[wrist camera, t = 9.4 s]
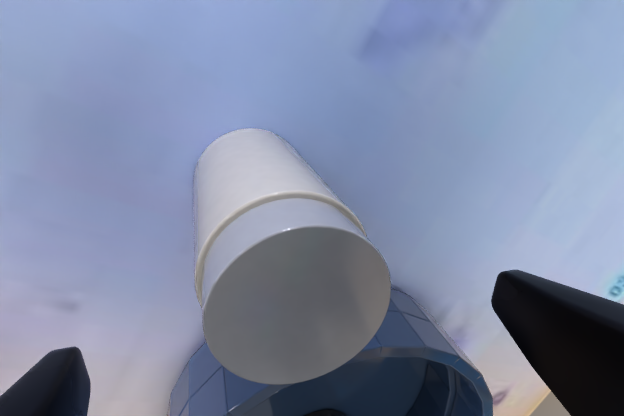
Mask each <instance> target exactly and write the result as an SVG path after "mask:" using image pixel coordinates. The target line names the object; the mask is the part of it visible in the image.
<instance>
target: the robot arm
mask: <svg viewBox="0 0 624 416" xmlns="http://www.w3.org/2000/svg"><path fill="white" fill-rule="evenodd" d="M491 303H492V307H493V309H494V311H495V313H496V314H497V316H498V317H499V319H500V320H501V322H502V323H503V325H504V326H505V328H506V329H507V331H508V332H509V333H510V335H511V336H512V338H513V339H514V341H515V342H516V344H517V345H518V347H519V348H520V350H521V351H522V353H523V354H524V356H525V357H526V359H527V360H528V362H529V363H530V364H531V366H532V367H533V368H534V370H535V371H536V372H537V374H538V375H539V376H540V377H541V379H542V380H543V381H544V382H545V384H546V385H547V386H548V387H549V389H550V390H551V391H552V392H553V394H554V395H555V396H556V397H557V399H558V400H559V401H560V402H561V403H562V405H563V406H564V407H565V409H566V410H567V411H568V412H569V413H570V415H571V416H624V305H623V304H620V303H617V302H614V301H611V300H608V299H605V298H602V297H599V296H596V295H593V294H590V293H587V292H584V291H581V290H578V289H575V288H572V287H569V286H565V285H562V284H559V283H556V282H553V281H550V280H547V279H544V278H541V277H538V276H535V275H532V274H529V273H526V272H523V271H520V270H509V271H503V272H501V273H500V274H499V275H498V277H497V280H496V283H495V287H494V291H493V295H492V299H491ZM89 398H90V379H89V375H88V372H87V369H86V366H85V363H84V359H83V356H82V353H81V351H80V350H79V348H77V347H69V348H63V349H57V350H53V351H51V352H49V353H48V354H47V355H46V356H44V357H43V358H42V359H41V360H40V361H39V362H38V363H37V364H36V365H35V366H33V367H32V368H31V369H30V370H29V371H28V372H27V373H26V374H25V375H24V376H22V377H21V378H20V379H19V380H18V381H17V382H16V383H15V384H14V385H13V386H11V387H10V388H9V389H8V390H7V391H6V392H5V393H4V394H3V395H2V396H0V416H87V412H88V405H89Z"/></svg>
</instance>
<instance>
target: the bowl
mask: <svg viewBox="0 0 624 416" xmlns="http://www.w3.org/2000/svg"><path fill="white" fill-rule="evenodd" d="M325 409H332V410H338V411H341V412H343V413H344V414H346V415H347V416H493V398H492V395H491V393H490V391H489V388H488V386H487V384H486V382H485V380H484V378H483V376H482V374H481V373H480V371H479V370H478V369H477V368H476V367H475V366H474V364H473V363H472V362H471V361H470V360H469V359H468V357H467V356H466V355H465V354H464V353H463V352H462V351H461V349H460V348H459V347H458V346H457V345H456V344H455V342H454V341H453V340H452V339H451V338H450V337H449V335H448V334H447V333H446V332H445V331H444V330H443V328H442V327H441V326H440V325H439V324H438V323H437V322H436V320H435V319H434V318H433V317H432V316H431V315H430V313H429V312H428V311H427V310H425V309H424V308H423V307H422V306H421V305H420V304H418V303H417V302H416V301H415V300H414V299H413V298H411V297H410V296H409V295H407V294H405V293H402V292H399V291H397V290H394V289H391V297H390V302H389V307H388V310H387V313H386V316H385V318H384V320H383V322H382V324H381V326H380V328H379V329H378V331H377V332H376V334H375V335H374V337H373V338H372V339H371V340H370V342H369V343H368V344H367V345H366V346H365V347H364V348H363V349H362V350H361V351H360V352H359V353H358V354H357V355H356V356H354V357H353V358H352V359H350V360H349V361H348V362H346V363H345V364H343V365H342V366H340V367H338V368H337V369H335V370H333V371H331V372H329V373H327V374H325V375H322V376H320V377H317V378H314V379H311V380H307V381H304V382H299V383H293V384H283V385H273V384H263V383H257V382H253V381H249V380H246V379H244V378H241V377H239V376H237V375H235V374H233V373H232V372H230V371H229V370H227V369H226V368H225V367H224V366H222V365H221V364H220V362H219V361H218V360H217V359H216V358H215V357H214V355H213V354H212V352H211V351H210V349H209V347H208V345H207V342H205V343H204V345H203V346H202V347H201V348H200V349H199V350H198V351H197V352H196V353H195V354H194V355H193V356H192V357H191V358H190V360H189V362H188V363H187V365H186V367H185V369H184V371H183V372H182V374H181V376H180V378H179V379H178V381H177V383H176V385H175V387H174V388H173V390H172V393H171V396H170V402H169V407H168V412H167V416H305V415H307V414H309V413H312V412H315V411H319V410H325Z"/></svg>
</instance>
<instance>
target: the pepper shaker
mask: <svg viewBox="0 0 624 416" xmlns="http://www.w3.org/2000/svg"><path fill="white" fill-rule="evenodd" d="M305 416H347V415H346V414H344V413H343V412H341V411H338V410H332V409H325V410H319V411H315V412H312V413H309V414H307V415H305Z"/></svg>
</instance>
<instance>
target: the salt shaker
mask: <svg viewBox="0 0 624 416" xmlns="http://www.w3.org/2000/svg"><path fill="white" fill-rule="evenodd" d="M193 207H194V280H195V290H196V294H197V298H198V301H199V303H200V306H201V308H202V318H203V331H204V336H205V340H206V342H207V345H208V347H209V349H210V351H211V352H212V354H213V355H214V357H215V358H216V359H217V360H218V361H219V362H220V364H221V365H222V366H224V367H225V368H226V369H227V370H229V371H230V372H232V373H233V374H235V375H237V376H239V377H241V378H244V379H246V380H249V381H253V382H257V383H263V384H273V385H283V384H293V383H299V382H304V381H307V380H311V379H314V378H317V377H320V376H322V375H325V374H327V373H329V372H331V371H333V370H335V369H337V368H338V367H340V366H342V365H343V364H345V363H346V362H348V361H349V360H350V359H352V358H353V357H354V356H356V355H357V354H358V353H359V352H360V351H361V350H362V349H363V348H364V347H365V346H366V345H367V344H368V343H369V342H370V340H371V339H372V338H373V337H374V335H375V334H376V332H377V331H378V329H379V328H380V326H381V324H382V322H383V320H384V318H385V316H386V313H387V310H388V307H389V302H390V297H391V281H390V274H389V271H388V267H387V265H386V263H385V260H384V258H383V257H382V255H381V254H380V252H379V251H378V249H377V248H376V247H375V246H374V245H373V244H372V243H371V241H370V240H369V239H368V238H367V235H366V232H365V230H364V228H363V226H362V224H361V222H360V221H359V219H358V218H357V217H356V215H355V214H354V213H353V212H352V211H351V210H350V209H349V208H348V207H347V206H346V205H345V203H344V202H343V201H342V200H341V199H340V198H339V197H338V196H337V195H336V194H335V193H334V191H333V190H332V189H331V188H330V187H329V186H328V185H327V184H326V183H325V182H324V181H323V179H322V178H321V177H320V176H319V175H318V174H317V173H316V172H315V171H314V170H313V169H312V167H311V166H310V165H309V164H308V163H307V162H306V161H305V160H304V159H303V158H302V157H301V156H300V154H299V153H298V152H297V151H296V150H295V149H294V148H293V147H292V146H291V145H290V144H289V143H288V142H287V141H286V140H285V139H284V138H282V137H280V136H279V135H277V134H275V133H273V132H270V131H267V130H263V129H257V128H245V129H238V130H234V131H231V132H229V133H226V134H224V135H222V136H220V137H219V138H217V139H216V140H215V141H213V142H212V143H211V144H210V145H209V146H208V147H207V148H206V149H205V150H204V152H203V153H202V155H201V156H200V158H199V160H198V162H197V165H196V167H195V171H194V178H193Z"/></svg>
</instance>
